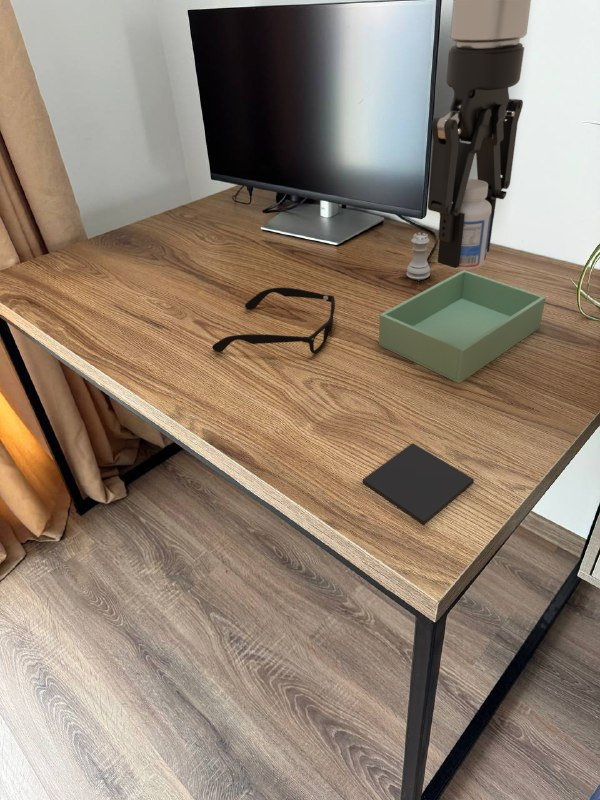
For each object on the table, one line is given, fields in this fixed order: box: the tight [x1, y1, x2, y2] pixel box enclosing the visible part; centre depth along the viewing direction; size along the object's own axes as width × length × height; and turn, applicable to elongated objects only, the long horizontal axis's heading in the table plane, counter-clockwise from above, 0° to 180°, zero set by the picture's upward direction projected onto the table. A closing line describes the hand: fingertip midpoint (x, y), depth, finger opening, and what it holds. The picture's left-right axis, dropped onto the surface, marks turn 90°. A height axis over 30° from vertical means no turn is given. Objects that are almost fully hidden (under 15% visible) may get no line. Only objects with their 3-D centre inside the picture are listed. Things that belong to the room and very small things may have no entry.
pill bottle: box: [445, 178, 492, 271], centre depth 71 cm, size 6×5×10 cm
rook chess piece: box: [405, 232, 431, 281], centre depth 109 cm, size 4×4×8 cm
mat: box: [362, 443, 475, 526], centre depth 68 cm, size 9×9×1 cm
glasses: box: [211, 287, 336, 355], centre depth 96 cm, size 17×18×5 cm
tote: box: [378, 270, 547, 384], centre depth 91 cm, size 15×21×6 cm
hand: (463, 256), depth 74 cm, fingers closed on pill bottle, 5 cm apart
